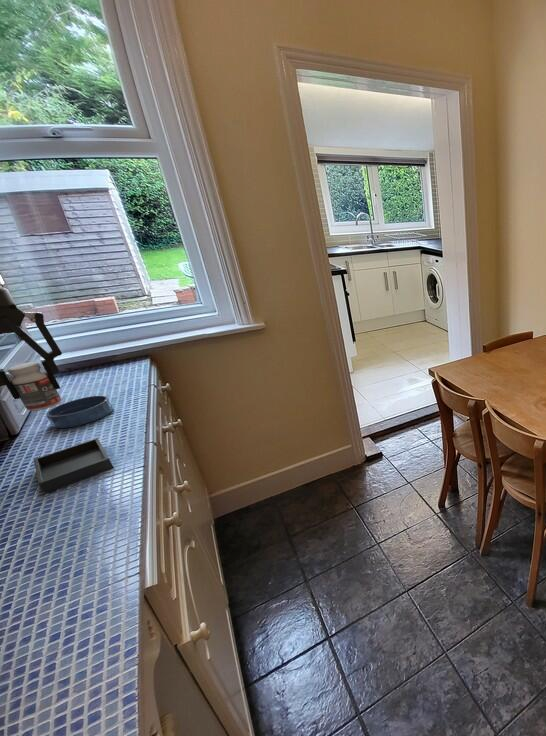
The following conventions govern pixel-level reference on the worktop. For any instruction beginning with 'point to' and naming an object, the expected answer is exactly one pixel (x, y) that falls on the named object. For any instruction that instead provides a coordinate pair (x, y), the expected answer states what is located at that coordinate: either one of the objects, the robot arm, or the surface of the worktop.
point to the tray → (71, 465)
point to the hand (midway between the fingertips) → (37, 392)
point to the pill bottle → (34, 387)
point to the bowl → (79, 411)
